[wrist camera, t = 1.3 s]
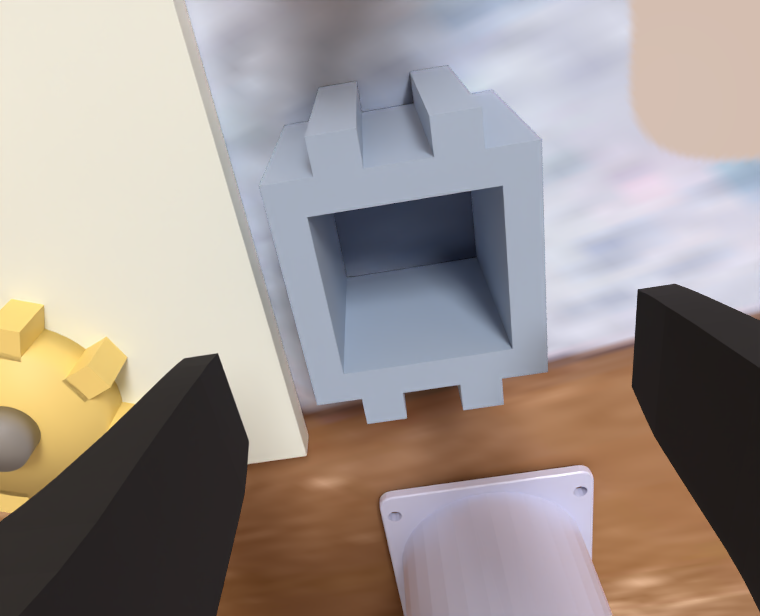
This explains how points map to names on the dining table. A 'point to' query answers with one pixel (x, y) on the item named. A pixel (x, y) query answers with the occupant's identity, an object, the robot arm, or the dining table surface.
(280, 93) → the dining table surface
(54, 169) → the board
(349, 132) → the ridged hollow box frame
